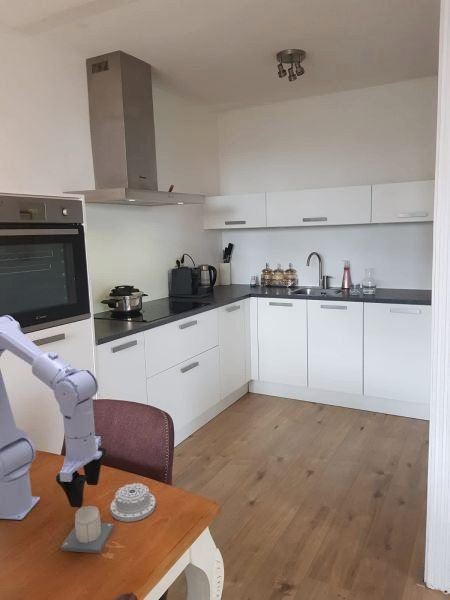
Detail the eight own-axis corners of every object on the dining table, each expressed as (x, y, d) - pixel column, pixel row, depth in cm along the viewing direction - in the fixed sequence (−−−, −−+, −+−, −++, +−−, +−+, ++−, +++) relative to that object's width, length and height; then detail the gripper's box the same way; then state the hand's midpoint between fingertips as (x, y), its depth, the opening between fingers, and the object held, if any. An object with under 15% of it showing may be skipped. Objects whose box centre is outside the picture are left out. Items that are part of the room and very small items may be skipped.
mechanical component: (103, 520, 101) (146, 525, 99) (101, 502, 100) (145, 506, 98) (121, 494, 110) (161, 498, 109) (120, 477, 110) (160, 480, 108)
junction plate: (60, 550, 92) (59, 532, 91) (78, 524, 99) (77, 507, 99) (99, 553, 90) (98, 534, 90) (114, 526, 98) (113, 509, 98)
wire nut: (73, 541, 93) (71, 519, 92) (83, 526, 97) (81, 505, 96) (94, 543, 92) (93, 520, 91) (103, 528, 97) (102, 506, 96)
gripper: (83, 451, 84) (88, 518, 86) (112, 417, 98) (116, 476, 100) (46, 449, 85) (53, 516, 87) (81, 416, 99) (85, 474, 101)
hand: (84, 494), depth 94 cm, fingers open, 7 cm apart
